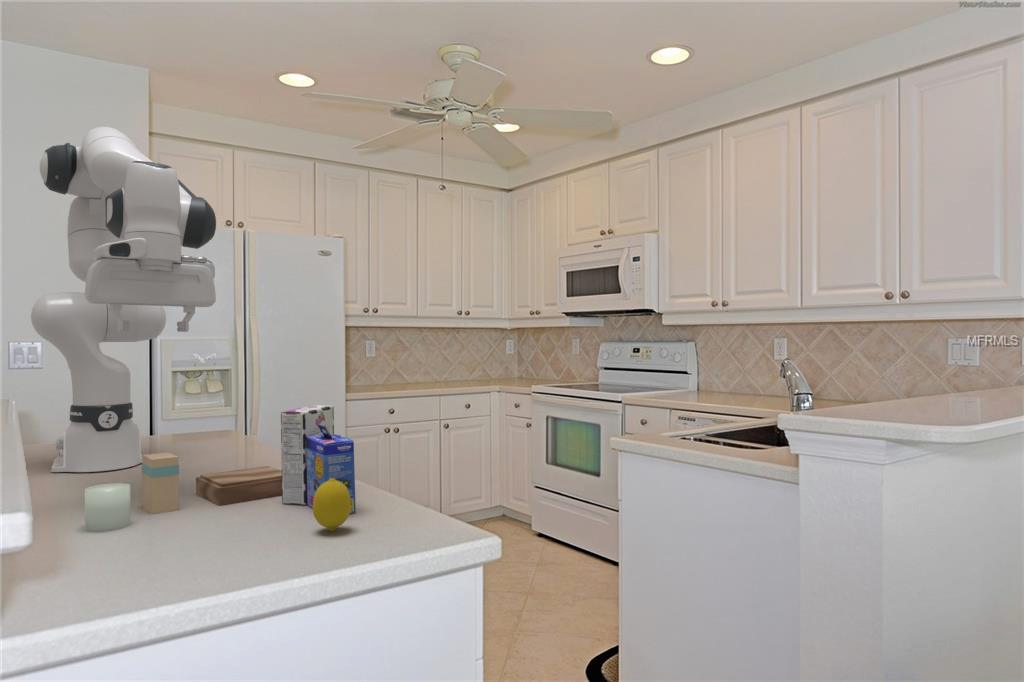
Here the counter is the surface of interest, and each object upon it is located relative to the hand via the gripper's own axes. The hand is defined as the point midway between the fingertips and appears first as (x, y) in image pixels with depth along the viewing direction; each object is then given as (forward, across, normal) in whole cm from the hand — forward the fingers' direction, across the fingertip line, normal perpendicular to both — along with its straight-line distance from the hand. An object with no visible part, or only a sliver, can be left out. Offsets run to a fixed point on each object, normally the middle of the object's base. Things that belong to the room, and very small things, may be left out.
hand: (154, 331), depth 115 cm
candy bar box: (+31, -22, +13) cm, 40 cm away
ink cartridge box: (+31, -21, +23) cm, 44 cm away
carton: (+30, 0, +3) cm, 31 cm away
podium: (+30, -15, +2) cm, 34 cm away
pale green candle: (+31, +9, +10) cm, 33 cm away
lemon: (+32, -15, +35) cm, 50 cm away
